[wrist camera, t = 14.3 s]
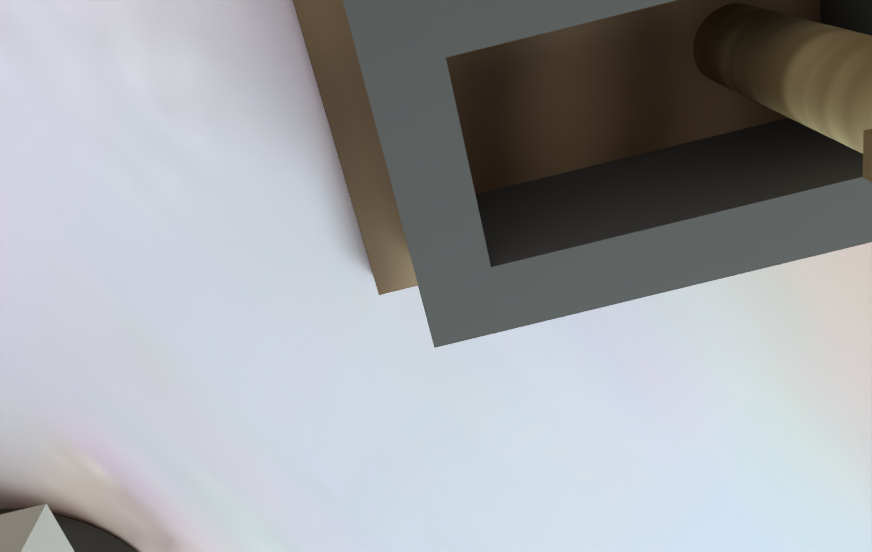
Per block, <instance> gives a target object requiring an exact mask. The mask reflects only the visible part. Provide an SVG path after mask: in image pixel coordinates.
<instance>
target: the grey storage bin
mask: <svg viewBox="0 0 872 552" xmlns="http://www.w3.org/2000/svg"><path fill="white" fill-rule="evenodd" d="M672 1H676V0H343V4H344V7H345V11H346V15H347V19H348V23H349V26H350V30H351V34H352V38H353V41H354V45H355V49H356V53H357V57H358V60H359V64H360V68H361V72H362V75H363V79H364V83H365V87H366V90H367V94H368V98H369V102H370V106H371V109H372V113H373V117H374V121H375V124H376V128H377V132H378V136H379V140H380V143H381V147H382V151H383V155H384V158H385V162H386V166H387V170H388V174H389V177H390V181H391V185H392V189H393V192H394V196H395V200H396V204H397V207H398V211H399V215H400V219H401V223H402V226H403V230H404V234H405V238H406V241H407V245H408V249H409V253H410V257H411V260H412V264H413V268H414V272H415V275H416V279H417V283H418V287H419V290H420V294H421V298H422V302H423V306H424V309H425V313H426V317H427V321H428V324H429V328H430V332H431V336H432V340H433V343H434V347H439V346H443V345H447V344H451V343H456V342H460V341H464V340H468V339H472V338H476V337H480V336H485V335H489V334H493V333H497V332H501V331H505V330H509V329H514V328H518V327H522V326H526V325H530V324H534V323H538V322H543V321H547V320H551V319H555V318H559V317H563V316H567V315H572V314H576V313H580V312H584V311H588V310H592V309H596V308H600V307H605V306H609V305H613V304H617V303H621V302H625V301H629V300H634V299H638V298H642V297H646V296H650V295H654V294H658V293H663V292H667V291H671V290H675V289H679V288H683V287H687V286H692V285H696V284H700V283H704V282H708V281H712V280H716V279H721V278H725V277H729V276H733V275H737V274H741V273H745V272H749V271H754V270H758V269H762V268H766V267H770V266H774V265H778V264H783V263H787V262H791V261H795V260H799V259H803V258H807V257H812V256H816V255H820V254H824V253H828V252H832V251H836V250H841V249H845V248H849V247H853V246H857V245H861V244H865V243H870V242H872V182H870V181H868V180H866V179H864V178H863V154H862V153H860V152H858V151H856V150H854V149H852V148H850V147H848V146H846V145H844V144H842V143H840V142H838V141H836V140H834V139H831V138H829V137H827V136H825V135H823V134H821V133H819V132H817V131H815V130H813V129H811V128H809V127H807V126H805V125H803V124H801V123H799V122H797V121H795V120H793V119H790V118H786V119H782V120H778V121H774V122H769V123H765V124H761V125H757V126H753V127H749V128H745V129H741V130H737V131H733V132H729V133H725V134H720V135H716V136H712V137H708V138H704V139H700V140H696V141H692V142H688V143H684V144H680V145H676V146H671V147H667V148H663V149H659V150H655V151H651V152H647V153H643V154H639V155H635V156H631V157H627V158H622V159H618V160H614V161H610V162H606V163H602V164H598V165H594V166H590V167H586V168H582V169H578V170H573V171H569V172H565V173H561V174H557V175H553V176H549V177H545V178H541V179H537V180H533V181H528V182H524V183H520V184H516V185H512V186H508V187H504V188H500V189H496V190H492V191H488V192H484V193H479V194H475V190H474V186H473V181H472V176H471V172H470V167H469V163H468V158H467V153H466V149H465V144H464V139H463V135H462V130H461V125H460V121H459V116H458V112H457V107H456V102H455V98H454V93H453V88H452V84H451V79H450V74H449V70H448V65H447V61H446V57H450V56H454V55H458V54H462V53H466V52H470V51H475V50H479V49H483V48H487V47H491V46H495V45H499V44H503V43H507V42H511V41H515V40H519V39H523V38H527V37H531V36H535V35H539V34H543V33H547V32H551V31H555V30H559V29H563V28H567V27H571V26H575V25H579V24H583V23H587V22H591V21H595V20H599V19H603V18H608V17H612V16H616V15H620V14H624V13H628V12H632V11H636V10H640V9H644V8H648V7H652V6H656V5H660V4H664V3H668V2H672ZM820 23H823V24H827V25H831V26H835V27H839V28H843V29H847V30H851V31H855V32H859V33H863V34H867V35H871V36H872V0H820Z"/></svg>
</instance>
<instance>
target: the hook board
mask: <svg viewBox="0 0 872 552" xmlns="http://www.w3.org/2000/svg"><path fill="white" fill-rule="evenodd" d="M293 3H294V6H295V9H296V13H297V16H298V20H299V23H300V26H301V30H302V33H303V37H304V40H305V44H306V47H307V50H308V54H309V57H310V61H311V64H312V67H313V71H314V74H315V78H316V81H317V84H318V88H319V91H320V95H321V98H322V102H323V105H324V108H325V112H326V115H327V119H328V122H329V125H330V129H331V132H332V136H333V139H334V143H335V146H336V149H337V153H338V156H339V160H340V163H341V166H342V170H343V173H344V177H345V180H346V184H347V187H348V190H349V194H350V197H351V201H352V204H353V207H354V211H355V214H356V218H357V221H358V225H359V228H360V231H361V235H362V238H363V242H364V245H365V248H366V252H367V255H368V259H369V262H370V266H371V269H372V272H373V276H374V279H375V283H376V286H377V289H378V293H379V295H381V294H385V293H389V292H393V291H397V290H401V289H405V288H409V287H414V286H418V283H417V279H416V275H415V272H414V268H413V264H412V260H411V257H410V253H409V249H408V245H407V241H406V238H405V234H404V230H403V226H402V223H401V219H400V215H399V211H398V207H397V204H396V200H395V196H394V192H393V189H392V185H391V181H390V177H389V174H388V170H387V166H386V162H385V158H384V155H383V151H382V147H381V143H380V140H379V136H378V132H377V128H376V124H375V121H374V117H373V113H372V109H371V106H370V102H369V98H368V94H367V90H366V87H365V83H364V79H363V75H362V72H361V68H360V64H359V60H358V57H357V53H356V49H355V45H354V41H353V38H352V34H351V30H350V26H349V23H348V19H347V15H346V11H345V7H344V4H343V0H293ZM446 61H447V65H448V70H449V74H450V79H451V84H452V88H453V93H454V98H455V102H456V107H457V112H458V116H459V121H460V125H461V130H462V135H463V139H464V144H465V149H466V153H467V158H468V163H469V167H470V172H471V176H472V181H473V186H474V190H475V194H479V193H484V192H488V191H492V190H496V189H500V188H504V187H508V186H512V185H516V184H520V183H524V182H528V181H533V180H537V179H541V178H545V177H549V176H553V175H557V174H561V173H565V172H569V171H573V170H578V169H582V168H586V167H590V166H594V165H598V164H602V163H606V162H610V161H614V160H618V159H622V158H627V157H631V156H635V155H639V154H643V153H647V152H651V151H655V150H659V149H663V148H667V147H671V146H676V145H680V144H684V143H688V142H692V141H696V140H700V139H704V138H708V137H712V136H716V135H720V134H725V133H729V132H733V131H737V130H741V129H745V128H749V127H753V126H757V125H761V124H765V123H769V122H774V121H778V120H782V119H786V118H790V119H793V120H795V121H797V122H799V123H801V124H803V125H805V126H807V127H809V128H811V129H813V130H815V131H817V132H819V133H821V134H823V135H825V136H827V137H829V138H831V139H834V140H836V141H838V142H840V143H842V144H844V145H846V146H848V147H850V148H852V149H854V150H856V151H858V152H860V153H862V154H863V178H864V179H866V180H868V181H870V182H872V36H871V35H867V34H863V33H859V32H855V31H851V30H847V29H843V28H839V27H835V26H831V25H827V24H823V23H820V0H676V1H672V2H668V3H664V4H660V5H656V6H652V7H648V8H644V9H640V10H636V11H632V12H628V13H624V14H620V15H616V16H612V17H608V18H603V19H599V20H595V21H591V22H587V23H583V24H579V25H575V26H571V27H567V28H563V29H559V30H555V31H551V32H547V33H543V34H539V35H535V36H531V37H527V38H523V39H519V40H515V41H511V42H507V43H503V44H499V45H495V46H491V47H487V48H483V49H479V50H475V51H470V52H466V53H462V54H458V55H454V56H450V57H446Z"/></svg>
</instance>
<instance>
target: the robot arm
mask: <svg viewBox="0 0 872 552" xmlns="http://www.w3.org/2000/svg"><path fill="white" fill-rule="evenodd" d="M0 552H136V551H134V550H133V549H132V548H130V547H129V546H128V545H126V544H125V543H123V542H122V541H120V540H119V539H117V538H115V537H113V536H112V535H110V534H108V533H106V532H104V531H102V530H100V529H97V528H95V527H93V526H91V525H88V524H85V523H82V522H80V521H77V520H73V519H70V518H66V517H62V516H58V515H54V514H52V512H51V511H50V509H49V507H48V505H47V504H42V505H38V506H34V507H30V508H26V509H21V510H0Z"/></svg>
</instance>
